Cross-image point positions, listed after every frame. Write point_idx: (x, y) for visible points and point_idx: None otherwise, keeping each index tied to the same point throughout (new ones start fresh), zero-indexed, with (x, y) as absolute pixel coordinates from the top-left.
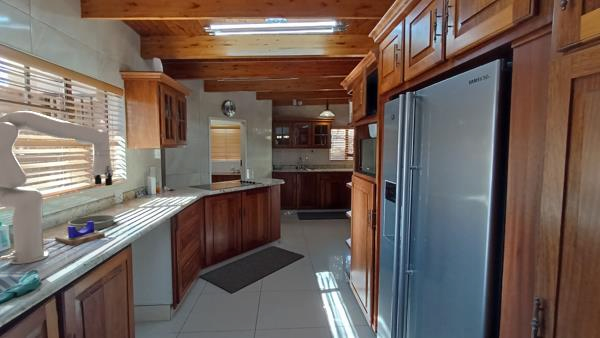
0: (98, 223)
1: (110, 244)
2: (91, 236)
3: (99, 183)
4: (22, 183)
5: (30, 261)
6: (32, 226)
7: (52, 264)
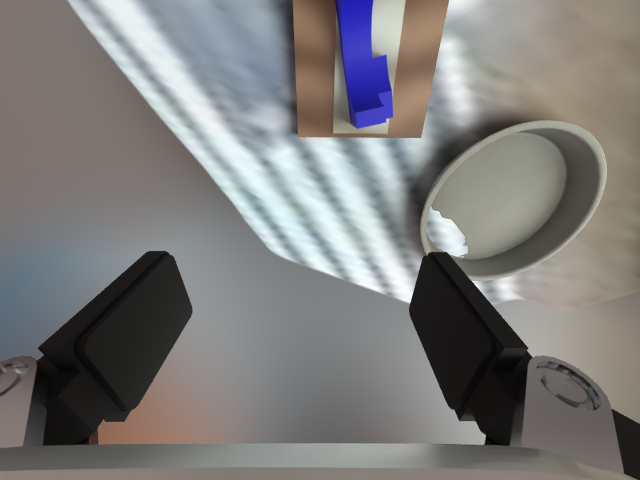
0: (430, 193)
1: (170, 80)
2: (296, 74)
3: (415, 297)
4: None
5: None
6: None
7: None
